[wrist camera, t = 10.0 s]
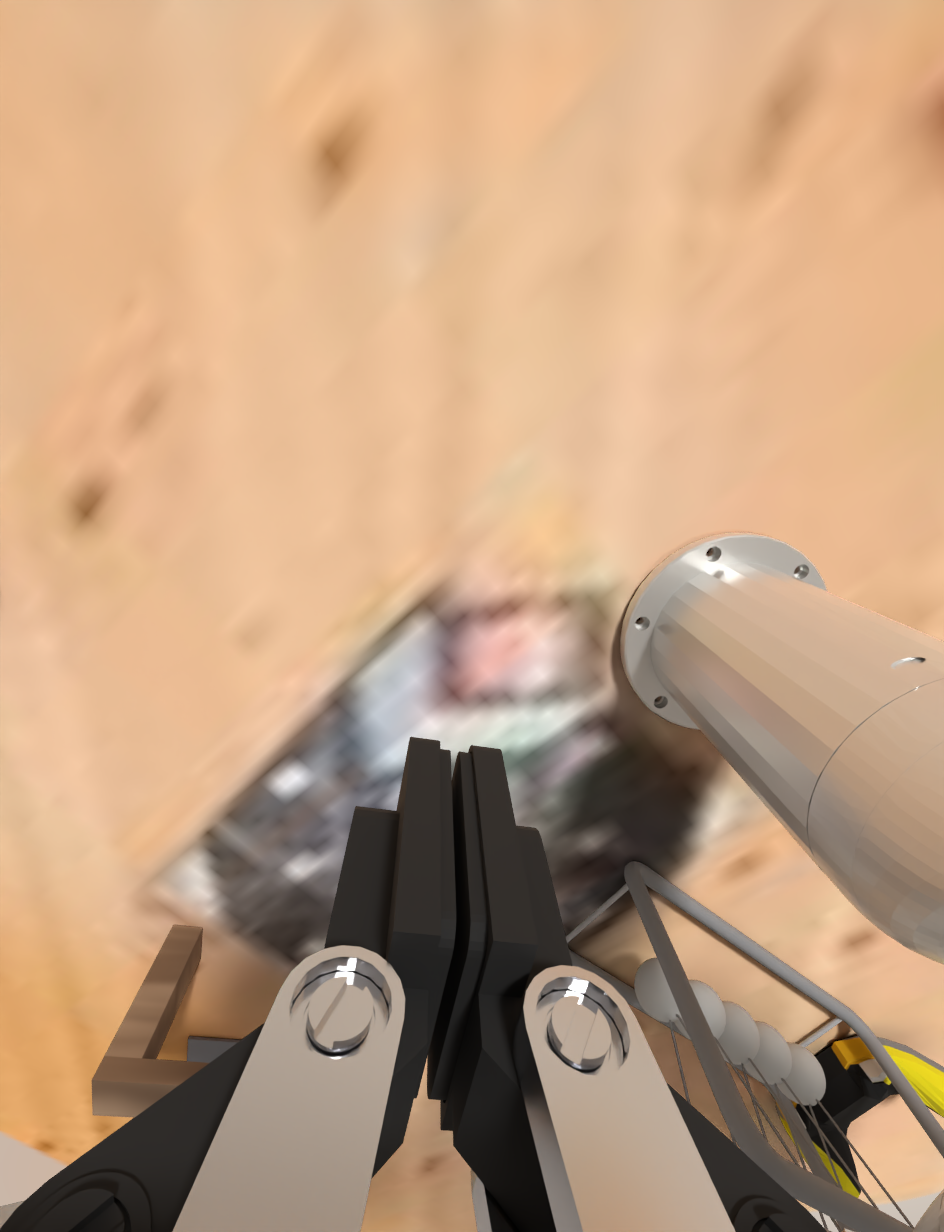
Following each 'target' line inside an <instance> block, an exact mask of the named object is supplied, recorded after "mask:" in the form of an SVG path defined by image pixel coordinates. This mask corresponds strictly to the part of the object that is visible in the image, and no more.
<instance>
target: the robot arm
mask: <svg viewBox="0 0 944 1232" xmlns="http://www.w3.org/2000/svg"><path fill="white" fill-rule="evenodd" d="M708 549H710V552H709V553H708V554H707V555H706V552H707V551H708ZM640 617H641V619H640V621H638V622H636V620H637V619H638V618H640ZM620 648H621V660H622V664H623V668H624V671H625V675H626V677H627V679H628V681H629V683H630V684H631V686H632V688H633V690H634V691H635V692H636V694H637V695H638V696H639V698H640V699H641V701H642V702H643V703H644V704H645V705H646V706H647V707H648V708H649V709H650V710H651V711H652V712H654V713H655V714H657V715H658V716H660V717H662V718H663V719H665V720H667V721H668V722H671V723H674V724H676V725H679V726H682V727H685V728H691V729H698V730H701V731H702V733H703V734H704V735H705V736H706V737H707V738H708V739H709V741H710V742H711V743H712V744H713V745H714V746H715V748H716V749H717V750H718V751H719V752H720V753H721V755H722V756H723V757H724V758H725V759H726V760H727V762H728V763H729V764H730V765H731V766H732V767H733V768H734V770H735V771H736V772H737V773H738V774H739V775H740V777H741V778H742V779H743V780H744V781H745V782H746V784H747V785H748V786H749V787H750V788H751V789H752V791H753V792H754V793H755V794H756V795H757V796H758V797H759V799H760V800H761V801H762V802H763V803H764V804H765V806H766V807H767V808H768V809H769V810H770V811H771V813H772V814H773V815H774V816H775V817H776V818H777V820H778V821H779V822H780V823H781V824H782V825H783V826H784V828H785V829H786V830H787V831H788V832H789V833H790V835H791V836H792V837H793V838H794V839H795V840H796V842H797V843H798V844H799V845H800V846H801V847H802V849H803V850H804V851H805V852H806V853H807V854H808V855H809V857H810V858H811V859H812V860H813V861H814V862H815V864H816V865H817V866H818V867H819V868H820V869H821V870H822V871H823V872H824V873H825V874H826V876H827V877H828V878H829V879H830V880H831V881H832V882H833V883H834V885H835V886H836V887H837V888H838V889H839V890H840V891H841V893H842V894H843V895H844V896H845V897H846V898H847V899H848V901H849V902H850V903H851V904H852V905H853V906H854V907H855V908H856V909H857V910H858V911H859V912H860V913H861V914H862V915H863V916H864V917H866V918H867V919H868V920H869V921H870V922H871V923H873V924H874V925H875V926H876V927H877V928H878V929H880V930H881V931H882V932H884V933H885V934H886V935H888V936H890V937H891V938H893V939H894V940H896V941H897V942H899V943H900V944H902V945H903V946H905V947H907V948H908V949H910V950H912V951H914V952H916V953H918V954H920V955H923V956H925V957H927V958H929V959H931V960H933V961H936V962H938V963H941V964H944V641H942V640H940V639H937V638H935V637H933V636H930V635H928V634H926V633H923V632H921V631H919V630H916V629H914V628H912V627H909V626H907V625H905V624H902V623H900V622H897V621H895V620H893V619H890V618H888V617H886V616H883V615H881V614H879V613H876V612H874V611H872V610H869V609H867V608H865V607H862V606H860V605H858V604H855V603H853V602H851V601H848V600H846V599H844V598H841V597H839V596H837V595H834V594H832V593H830V592H828V591H827V588H826V585H825V582H824V579H823V578H822V576H821V574H820V573H819V571H818V570H817V568H816V566H815V565H814V564H813V563H812V562H811V561H810V560H809V559H808V558H807V557H806V556H805V555H804V554H803V553H802V552H801V551H799V550H797V549H796V548H794V547H792V546H791V545H789V544H787V543H786V542H783V541H780V540H777V539H775V538H772V537H769V536H765V535H760V534H755V533H750V532H728V533H723V534H718V535H713V536H708V537H706V538H703V539H700V540H698V541H695V542H692V543H690V544H688V545H686V546H684V547H683V548H681V549H679V550H678V551H676V552H674V553H673V554H671V555H670V556H668V557H667V558H666V559H665V560H664V561H663V562H661V563H660V564H659V565H658V566H657V567H655V568H654V569H653V570H652V572H651V573H650V574H649V575H648V576H647V578H646V579H645V580H644V581H643V582H642V583H641V585H640V586H639V588H638V590H637V591H636V593H635V595H634V597H633V598H632V600H631V602H630V604H629V607H628V609H627V612H626V615H625V617H624V620H623V625H622V631H621V638H620ZM427 1055H428V1065H427V1095H428V1099H435V1100H441V1130H449V1131H453V1146H454V1147H455V1148H456V1149H457V1151H458V1152H459V1153H460V1155H461V1156H462V1157H463V1159H464V1160H465V1161H466V1162H467V1164H468V1165H469V1166H470V1168H471V1186H472V1198H473V1204H474V1211H475V1217H476V1224H477V1231H478V1232H827V1231H826V1230H825V1229H824V1228H823V1227H822V1225H821V1224H820V1223H819V1222H818V1221H817V1220H816V1219H815V1218H814V1217H813V1216H812V1215H811V1214H810V1213H809V1212H808V1211H807V1209H805V1208H804V1207H803V1206H802V1205H801V1204H800V1203H799V1202H798V1201H797V1200H796V1199H794V1198H793V1197H792V1196H791V1195H790V1194H789V1193H788V1192H787V1191H786V1190H784V1189H783V1188H782V1187H781V1186H780V1185H779V1184H778V1183H777V1182H776V1181H775V1180H773V1179H772V1178H771V1177H770V1176H769V1175H768V1174H767V1173H766V1172H765V1171H764V1170H762V1169H761V1168H760V1167H759V1166H758V1165H757V1164H756V1163H755V1162H754V1161H752V1160H751V1159H750V1158H749V1157H748V1156H747V1155H746V1154H745V1153H744V1152H743V1151H741V1150H740V1149H739V1148H738V1147H737V1146H736V1145H735V1144H734V1143H733V1142H731V1141H730V1140H729V1139H728V1138H727V1137H726V1136H725V1135H724V1134H723V1133H722V1132H720V1131H719V1130H718V1129H717V1128H716V1127H715V1126H714V1125H713V1124H712V1123H710V1122H709V1121H708V1120H707V1119H706V1118H705V1117H704V1116H703V1115H702V1114H701V1113H699V1112H698V1111H697V1110H696V1109H695V1108H694V1107H693V1106H692V1105H691V1104H689V1103H688V1102H687V1101H686V1100H685V1099H684V1098H683V1097H682V1096H681V1095H680V1094H678V1093H677V1092H676V1091H675V1090H674V1089H673V1088H672V1087H671V1086H670V1085H669V1084H667V1083H666V1081H665V1079H664V1077H663V1075H662V1072H661V1070H660V1068H659V1066H658V1064H657V1062H656V1060H655V1057H654V1055H653V1053H652V1051H651V1049H650V1047H649V1045H648V1042H647V1040H646V1038H645V1036H644V1034H643V1032H642V1029H641V1027H640V1025H639V1023H638V1021H637V1019H636V1017H635V1015H634V1013H633V1012H632V1010H631V1009H630V1007H629V1005H628V1004H627V1002H626V1000H625V999H624V998H623V997H622V996H621V995H620V994H619V993H618V992H617V990H616V989H615V988H614V987H613V986H612V985H611V984H609V983H608V982H607V981H605V980H604V979H602V978H601V977H599V976H598V975H596V974H595V973H593V972H590V971H587V970H585V969H582V968H580V967H576V966H573V964H572V960H571V956H570V952H569V948H568V944H567V940H566V936H565V932H564V928H563V924H562V920H561V916H560V912H559V908H558V904H557V900H556V896H555V892H554V888H553V884H552V880H551V876H550V872H549V868H548V864H547V859H546V855H545V851H544V847H543V843H542V839H541V836H540V833H539V831H538V830H537V829H536V828H531V827H523V826H516V824H515V819H514V813H513V808H512V803H511V798H510V793H509V787H508V782H507V777H506V772H505V767H504V761H503V756H502V752H501V750H500V749H495V748H487V747H480V746H473V745H471V746H470V749H469V752H468V753H465V752H459V753H458V755H457V759H456V763H455V768H454V772H453V777H452V779H451V753H450V750H443V749H440V741H437V740H429V739H422V738H415V737H410V741H409V745H408V751H407V756H406V762H405V767H404V773H403V778H402V784H401V789H400V795H399V800H398V805H397V811H391V810H383V809H375V808H367V807H358V806H356V807H355V811H354V815H353V820H352V824H351V829H350V833H349V838H348V842H347V847H346V852H345V856H344V861H343V865H342V870H341V874H340V879H339V883H338V888H337V893H336V897H335V902H334V906H333V911H332V915H331V920H330V925H329V929H328V934H327V938H326V943H325V947H324V949H322V950H320V951H318V952H316V953H314V954H312V955H310V956H309V957H307V958H305V959H304V960H303V961H302V962H301V963H300V964H299V965H297V966H296V967H295V968H294V969H293V970H292V971H291V972H290V974H289V975H288V977H287V979H286V980H285V982H284V983H283V985H282V987H281V988H280V990H279V992H278V995H277V997H276V999H275V1001H274V1004H273V1006H272V1008H271V1011H270V1013H269V1015H268V1017H267V1020H266V1022H265V1023H264V1024H262V1025H261V1026H260V1027H258V1028H257V1029H256V1030H254V1031H253V1032H251V1033H250V1034H249V1035H247V1036H246V1037H245V1038H243V1039H242V1040H240V1041H239V1042H238V1043H236V1044H235V1045H234V1046H232V1047H231V1048H229V1049H228V1050H227V1051H225V1052H224V1053H223V1054H221V1055H220V1056H218V1057H217V1058H216V1059H214V1060H213V1061H212V1062H210V1063H209V1064H207V1065H206V1066H205V1067H203V1068H202V1069H201V1070H199V1071H198V1072H196V1073H195V1074H194V1075H192V1076H191V1077H190V1078H188V1079H187V1080H185V1081H184V1082H183V1083H181V1084H180V1085H179V1086H177V1087H176V1088H174V1089H173V1090H172V1091H170V1092H169V1093H168V1094H166V1095H165V1096H163V1097H162V1098H161V1099H159V1100H158V1101H157V1102H155V1103H154V1104H152V1105H151V1106H150V1107H148V1108H147V1109H146V1110H144V1111H143V1112H141V1113H140V1114H139V1115H137V1116H136V1117H135V1118H133V1119H132V1120H130V1121H129V1122H128V1123H126V1124H125V1125H124V1126H122V1127H121V1128H120V1129H118V1130H117V1131H115V1132H114V1133H113V1134H111V1135H110V1136H109V1137H107V1138H106V1139H104V1140H103V1141H102V1142H100V1143H99V1144H98V1145H96V1146H95V1147H93V1148H92V1149H91V1150H89V1151H88V1152H87V1153H85V1154H84V1155H82V1156H81V1157H80V1158H78V1159H77V1160H76V1161H74V1162H73V1163H71V1164H70V1165H69V1166H67V1167H66V1168H65V1169H63V1170H62V1171H60V1172H59V1173H58V1174H57V1175H55V1176H54V1177H52V1178H51V1179H49V1180H48V1181H47V1182H46V1183H45V1184H43V1185H42V1187H40V1188H39V1189H38V1190H37V1191H36V1192H34V1193H33V1194H32V1195H31V1196H30V1197H29V1198H28V1199H27V1200H25V1201H21V1202H17V1203H13V1204H9V1205H5V1206H0V1232H360V1231H361V1226H362V1221H363V1216H364V1211H365V1207H366V1202H367V1197H368V1192H369V1187H370V1182H371V1179H372V1177H373V1176H374V1175H375V1174H376V1173H377V1172H378V1171H379V1169H380V1168H381V1167H382V1166H383V1165H384V1164H385V1163H386V1162H387V1160H388V1159H389V1158H390V1157H391V1156H392V1155H393V1154H394V1152H395V1151H396V1150H397V1149H398V1148H399V1147H400V1146H401V1144H402V1143H403V1140H404V1136H405V1132H406V1128H407V1124H408V1120H409V1116H410V1112H411V1107H412V1103H413V1099H414V1098H417V1095H418V1091H419V1087H420V1083H421V1079H422V1075H423V1071H424V1067H425V1063H426V1059H427ZM842 1232H854V1231H851V1230H848V1229H845V1228H844V1229H843V1231H842ZM913 1232H944V1190H943V1191H942V1192H941V1193H940V1194H939V1195H938V1196H937V1198H936V1199H935V1200H934V1201H933V1202H932V1204H931V1205H930V1206H929V1208H928V1209H927V1210H926V1212H925V1213H924V1215H923V1216H922V1217H921V1219H920V1220H919V1222H918V1223H917V1225H916V1227H915V1228H914V1230H913Z"/></svg>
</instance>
